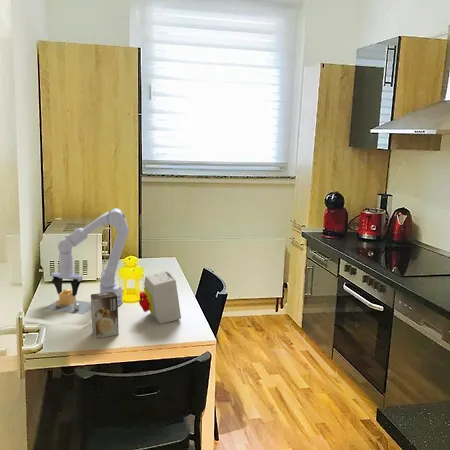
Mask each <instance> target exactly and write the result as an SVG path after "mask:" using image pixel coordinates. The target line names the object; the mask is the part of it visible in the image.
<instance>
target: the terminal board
mask: <svg viewBox="0 0 450 450" xmlns="http://www.w3.org/2000/svg"><path fill="white" fill-rule="evenodd" d="M57 301H59V299H58V300H57ZM75 303H79V311H74V304H75ZM42 310H49V311H56V312H62V313H71V314H77V315H85V314H86V313H88V312H90V311H91V301H84V300H76V302H74V303H73V304H71V305H63V304H61V308H60V309H56V301H54V302H52V303H51V304H49V305H47V306H45V307H43V308H42Z"/></svg>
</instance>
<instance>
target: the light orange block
mask: <svg viewBox="0 0 450 450" xmlns="http://www.w3.org/2000/svg"><path fill="white" fill-rule="evenodd" d="M76 296H77V295H75V296H73V294H72V288H66V289H62V292H61V293H59V294H58V297H59V299H58V300H59V301H61V304H63V305H71V304H73V303H74V302H76Z"/></svg>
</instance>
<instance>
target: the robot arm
mask: <svg viewBox="0 0 450 450" xmlns="http://www.w3.org/2000/svg"><path fill="white" fill-rule="evenodd" d="M109 225H112V226H113V227H114V229H115V230H116V232H117V233H116V236H115V239H114V242H113V246H112V249H111V252H110V254H109V257H108V260H107V263H106V265H105V268H104V270H102V272H101V274H100V279H99V280H100V281H99V283H100V284H99V293H106V292H114V293H115V294H116V295H117V301H118V307H119V306H120V305H122V304H123V303H124V301H123V289H122V286H118V285H117V283H116V281H115V278H116V272H117V267H118V265H119V262H120V258H121V256H122V253H123V250H124V248H125V245H126V243H127V242H126V241H127V238H128V236H129V232H130V230H129V225H128V222H127V219H126V215H125V213H123V211H122V209H120V208H118V207H117V208H116V207H115V208H112V209H111V210H109V211H106V212H104V213H103V214H101V215H100V216H99V217H97V218H96V219H95V220H93V221H92V222H90V223H88V225H86V226H85V227H83V228H82V227H79V228H74V229H73V231H72V233H70V234H68V235H65V236H64V238H62V239H60V241H59V242H58V245H57V249H58V254H59V255H58V260H59V261H58V262H59V264H58V265H59V266H58V267H59V272H51V274H50V278H52V279H51V282H52V283H53V285H54V287H55V289H56V293H57V294H58V295H59V293H61V292H63V279H64V280H71V281H70V285H71V291H72V294H73V296H77V294H78V290H79V287H80V285H81V283H82V280H83V275H80V274H75V273H74V262H73V261H74V260H73V259H74V258H73V257H74V255H73V248H75V247H77V246H78V245H79V244H81V243H82V242H84V241H86V240H87V239H88V236H89V234H91V233H92V232H94V231H95V230H97V229H99V228H100V227H102V226H109Z"/></svg>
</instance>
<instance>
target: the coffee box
mask: <svg viewBox="0 0 450 450" xmlns="http://www.w3.org/2000/svg"><path fill="white" fill-rule="evenodd" d="M90 302H91V310H90V311H91V312H90V313H91V333H92V334H93V336H94V337H95V339H102V338H106V337H112V336H119V334H120V333H119V332H120V331H119V308H118V307H119V306H118V301H117V295H116V294H115V293H114V292H106V293H100V292H99V293H92V294H90Z"/></svg>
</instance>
